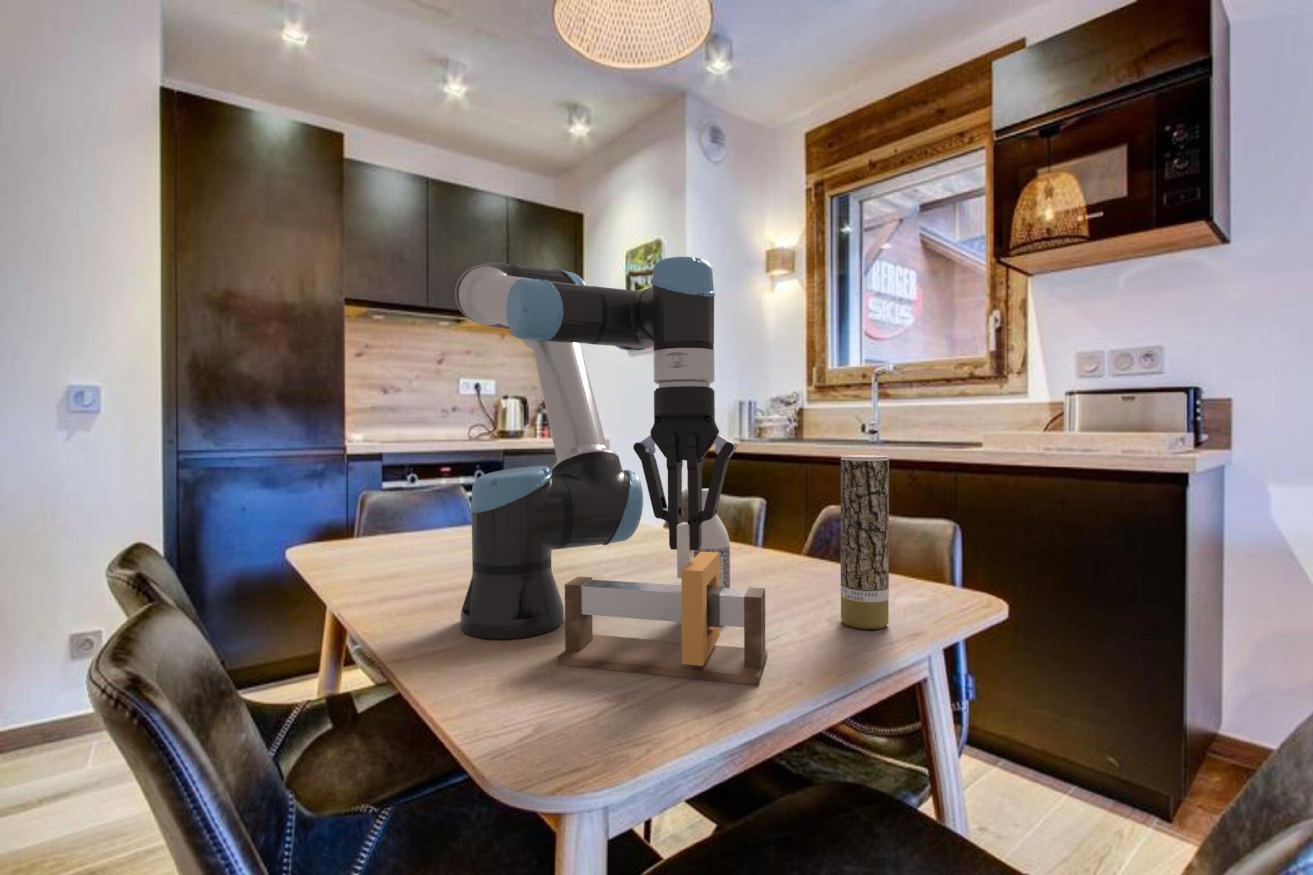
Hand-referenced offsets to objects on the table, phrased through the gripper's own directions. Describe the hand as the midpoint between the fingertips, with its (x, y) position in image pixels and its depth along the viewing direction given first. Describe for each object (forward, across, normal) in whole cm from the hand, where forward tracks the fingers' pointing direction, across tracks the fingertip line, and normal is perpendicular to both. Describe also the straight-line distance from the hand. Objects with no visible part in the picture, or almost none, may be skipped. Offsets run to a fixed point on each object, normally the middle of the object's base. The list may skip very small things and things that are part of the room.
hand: (685, 575), depth 80 cm
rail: (+6, -3, 0) cm, 6 cm away
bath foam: (+11, -1, +18) cm, 21 cm away
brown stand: (+11, -3, 0) cm, 11 cm away
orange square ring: (+9, +2, 0) cm, 9 cm away
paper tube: (+11, +22, +22) cm, 33 cm away
